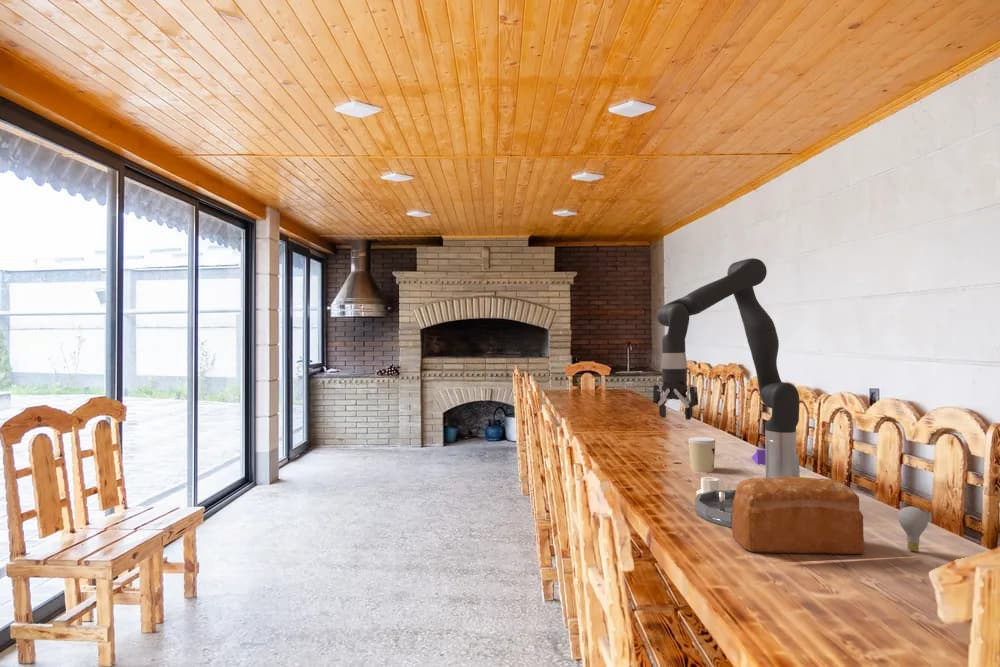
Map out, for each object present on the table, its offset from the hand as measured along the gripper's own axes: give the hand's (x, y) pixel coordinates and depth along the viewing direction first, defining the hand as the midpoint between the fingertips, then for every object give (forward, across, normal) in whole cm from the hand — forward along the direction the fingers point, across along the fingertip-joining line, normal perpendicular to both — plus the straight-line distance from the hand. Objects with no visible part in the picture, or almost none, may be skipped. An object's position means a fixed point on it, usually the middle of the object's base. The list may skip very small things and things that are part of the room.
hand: (675, 418), depth 181 cm
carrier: (+23, -26, +9) cm, 36 cm away
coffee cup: (+24, +7, -31) cm, 40 cm away
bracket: (+24, -4, -59) cm, 64 cm away
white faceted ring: (+23, -10, -2) cm, 25 cm away
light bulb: (+24, -63, +10) cm, 68 cm away
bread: (+24, -42, +24) cm, 54 cm away
